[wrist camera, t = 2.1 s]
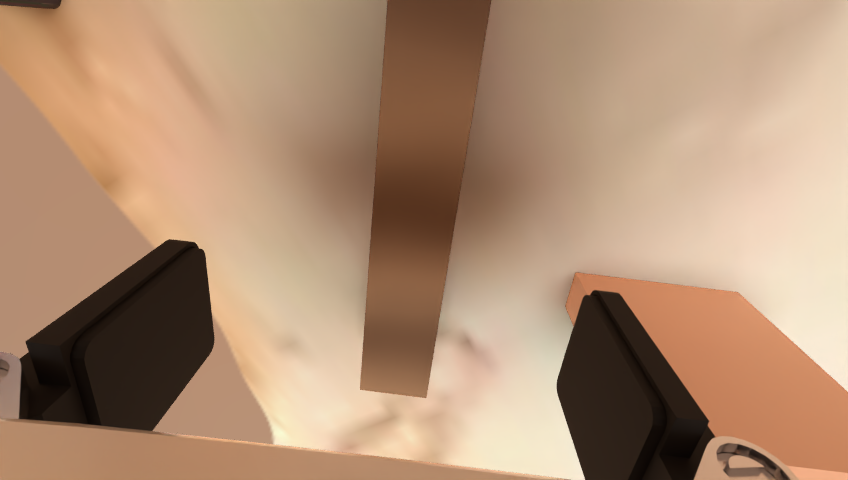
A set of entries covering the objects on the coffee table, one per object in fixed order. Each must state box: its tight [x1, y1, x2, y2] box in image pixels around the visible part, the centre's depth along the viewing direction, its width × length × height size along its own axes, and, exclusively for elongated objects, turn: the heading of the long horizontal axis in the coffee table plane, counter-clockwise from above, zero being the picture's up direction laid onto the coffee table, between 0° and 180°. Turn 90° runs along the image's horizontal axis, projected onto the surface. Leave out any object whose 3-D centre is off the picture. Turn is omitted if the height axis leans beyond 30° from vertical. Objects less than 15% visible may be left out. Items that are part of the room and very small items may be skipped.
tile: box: [565, 273, 848, 480], centre depth 17 cm, size 2×8×10 cm, turn 83°
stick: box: [360, 0, 491, 398], centre depth 18 cm, size 18×3×4 cm, turn 173°
